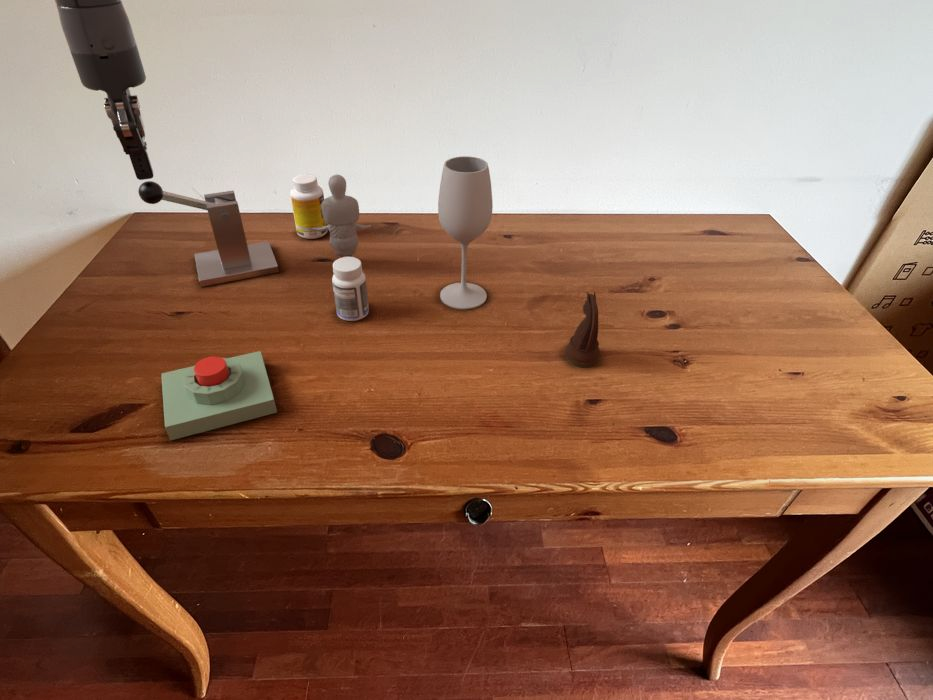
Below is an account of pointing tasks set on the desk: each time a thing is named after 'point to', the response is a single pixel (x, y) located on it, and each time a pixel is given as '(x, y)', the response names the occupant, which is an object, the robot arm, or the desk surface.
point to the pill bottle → (350, 289)
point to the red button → (211, 371)
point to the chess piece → (585, 337)
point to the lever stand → (231, 247)
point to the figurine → (341, 218)
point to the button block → (216, 397)
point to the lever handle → (170, 196)
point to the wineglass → (465, 219)
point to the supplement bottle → (307, 206)
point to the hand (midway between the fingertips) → (145, 177)
